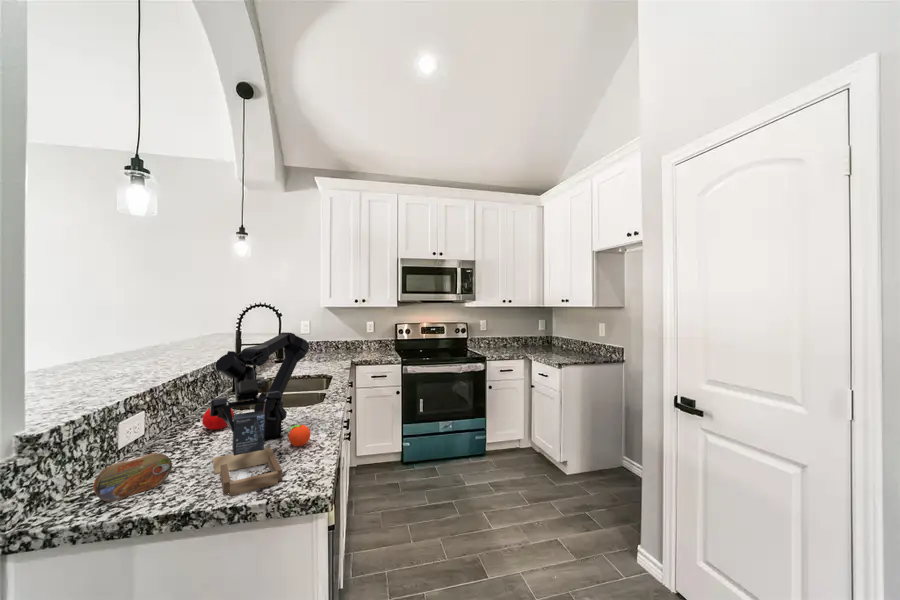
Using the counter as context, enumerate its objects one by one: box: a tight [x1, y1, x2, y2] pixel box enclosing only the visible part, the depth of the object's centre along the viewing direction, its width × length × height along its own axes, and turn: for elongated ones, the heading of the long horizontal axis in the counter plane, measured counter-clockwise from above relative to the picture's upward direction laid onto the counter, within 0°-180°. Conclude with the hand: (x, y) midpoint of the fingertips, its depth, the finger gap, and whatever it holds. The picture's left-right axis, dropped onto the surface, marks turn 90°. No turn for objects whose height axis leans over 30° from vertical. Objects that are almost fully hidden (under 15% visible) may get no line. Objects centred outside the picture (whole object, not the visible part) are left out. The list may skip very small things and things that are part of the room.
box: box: [232, 411, 265, 456], centre depth 107 cm, size 8×6×11 cm
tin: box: [92, 452, 173, 502], centre depth 91 cm, size 15×3×8 cm, turn 148°
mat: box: [212, 446, 275, 475], centre depth 110 cm, size 16×12×1 cm
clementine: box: [285, 424, 312, 447], centre depth 122 cm, size 8×7×7 cm
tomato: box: [202, 408, 235, 431], centre depth 137 cm, size 9×10×8 cm
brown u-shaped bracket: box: [219, 454, 283, 497], centre depth 98 cm, size 14×14×3 cm
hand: (249, 428), depth 106 cm, fingers closed on box, 8 cm apart
